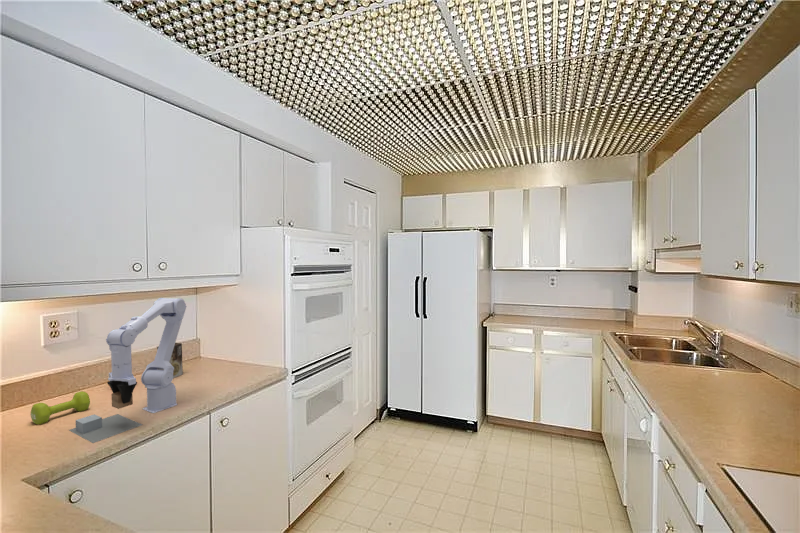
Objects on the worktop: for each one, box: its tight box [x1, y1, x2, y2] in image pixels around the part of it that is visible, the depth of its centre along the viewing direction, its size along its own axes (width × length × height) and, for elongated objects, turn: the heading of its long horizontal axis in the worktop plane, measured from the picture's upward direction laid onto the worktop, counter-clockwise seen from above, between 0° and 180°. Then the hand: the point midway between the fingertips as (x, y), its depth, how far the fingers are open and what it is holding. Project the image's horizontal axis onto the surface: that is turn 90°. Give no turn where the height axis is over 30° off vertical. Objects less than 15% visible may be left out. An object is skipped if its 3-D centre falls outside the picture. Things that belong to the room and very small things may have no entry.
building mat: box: [68, 413, 144, 444], centre depth 134 cm, size 15×18×1 cm
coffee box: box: [156, 342, 184, 379], centre depth 188 cm, size 9×6×16 cm
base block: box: [75, 414, 103, 434], centre depth 133 cm, size 6×6×4 cm
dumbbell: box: [30, 390, 91, 425], centre depth 143 cm, size 16×8×7 cm, turn 153°
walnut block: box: [110, 391, 134, 410], centre depth 134 cm, size 4×4×4 cm
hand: (122, 401), depth 135 cm, fingers closed on walnut block, 4 cm apart
